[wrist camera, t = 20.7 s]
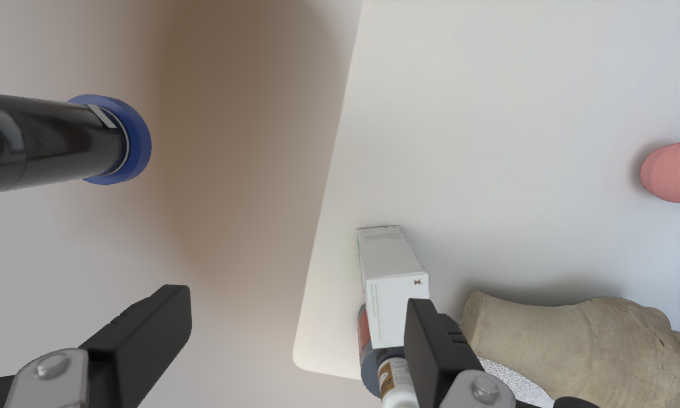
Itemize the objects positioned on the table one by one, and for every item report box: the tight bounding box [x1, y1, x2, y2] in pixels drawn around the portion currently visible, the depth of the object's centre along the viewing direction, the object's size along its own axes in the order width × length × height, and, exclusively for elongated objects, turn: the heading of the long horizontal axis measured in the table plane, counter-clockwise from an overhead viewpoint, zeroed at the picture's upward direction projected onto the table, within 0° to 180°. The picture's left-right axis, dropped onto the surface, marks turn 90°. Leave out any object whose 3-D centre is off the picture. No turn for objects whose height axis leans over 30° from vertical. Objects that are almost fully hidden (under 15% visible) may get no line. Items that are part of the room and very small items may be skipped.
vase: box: [460, 290, 680, 408], centre depth 40 cm, size 22×22×28 cm
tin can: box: [358, 303, 406, 399], centre depth 43 cm, size 8×8×11 cm
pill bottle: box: [378, 357, 419, 408], centre depth 34 cm, size 4×4×8 cm
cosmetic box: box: [357, 225, 430, 349], centre depth 38 cm, size 8×7×16 cm
